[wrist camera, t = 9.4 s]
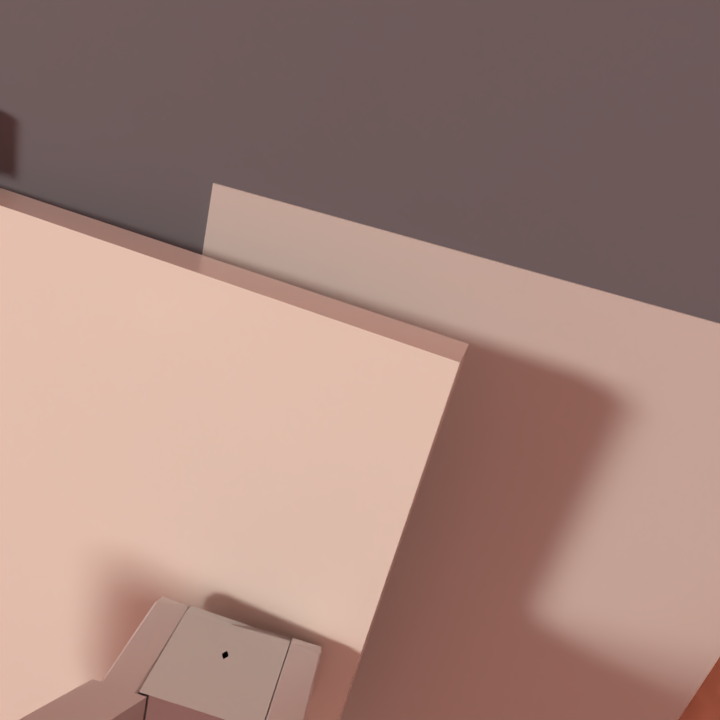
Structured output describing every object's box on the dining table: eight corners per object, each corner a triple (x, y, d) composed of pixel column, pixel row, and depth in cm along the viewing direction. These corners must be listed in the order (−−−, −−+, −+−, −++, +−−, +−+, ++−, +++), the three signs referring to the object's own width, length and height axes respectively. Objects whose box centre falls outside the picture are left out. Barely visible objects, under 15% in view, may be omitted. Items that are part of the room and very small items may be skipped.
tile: (-46, 642, 14) (299, 839, 12) (-96, 679, 13) (275, 902, 11) (-52, 167, 10) (470, 340, 8) (-125, 162, 9) (460, 363, 7)
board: (505, 935, 16) (512, 1018, 14) (-162, 705, 17) (-224, 759, 16) (1054, 51, 8) (1209, 17, 6) (-279, -274, 9) (-431, -370, 8)
